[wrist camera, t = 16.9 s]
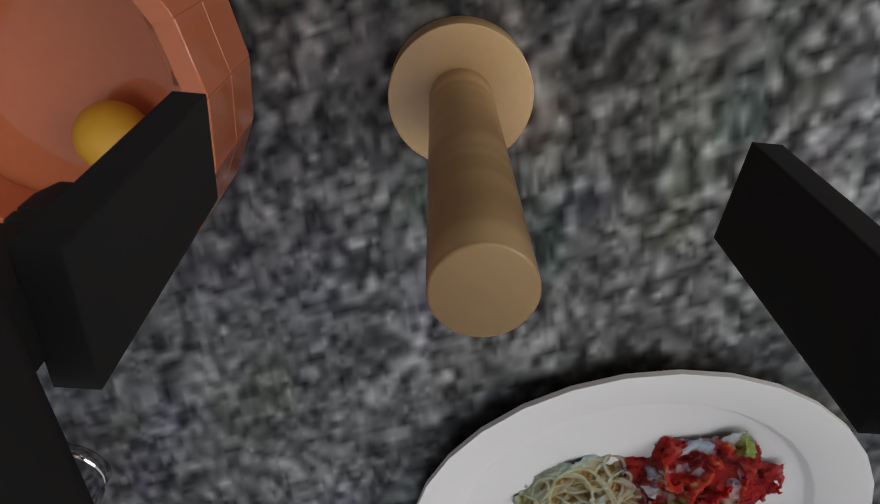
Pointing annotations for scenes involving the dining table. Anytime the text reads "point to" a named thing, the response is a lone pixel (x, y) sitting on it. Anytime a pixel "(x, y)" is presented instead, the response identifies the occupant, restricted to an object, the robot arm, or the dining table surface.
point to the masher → (469, 170)
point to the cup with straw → (92, 471)
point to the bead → (102, 127)
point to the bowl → (112, 79)
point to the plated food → (659, 447)
